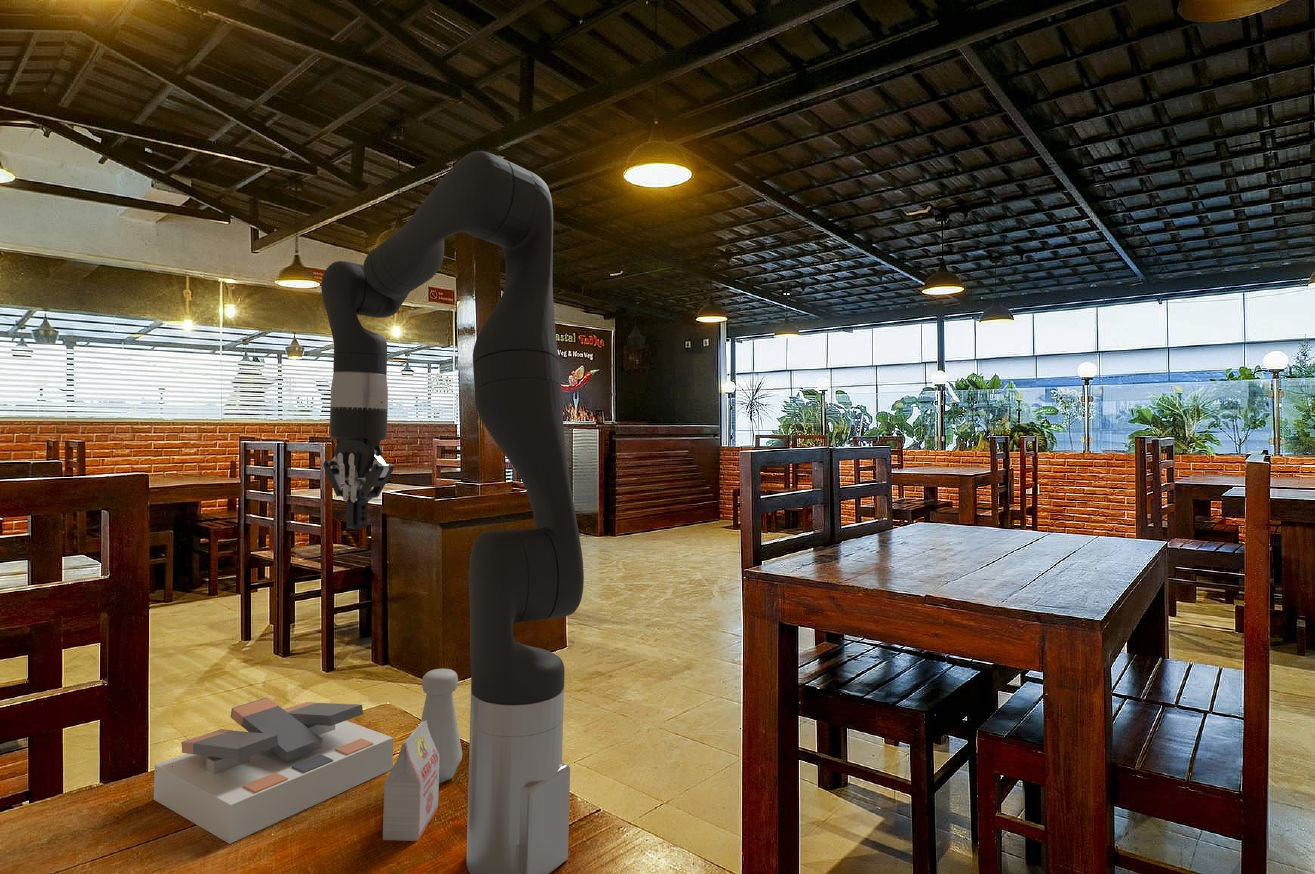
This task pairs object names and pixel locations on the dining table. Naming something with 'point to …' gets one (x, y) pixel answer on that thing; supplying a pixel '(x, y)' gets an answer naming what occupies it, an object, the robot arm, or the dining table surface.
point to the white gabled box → (412, 788)
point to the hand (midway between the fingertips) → (356, 528)
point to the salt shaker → (442, 719)
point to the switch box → (270, 780)
